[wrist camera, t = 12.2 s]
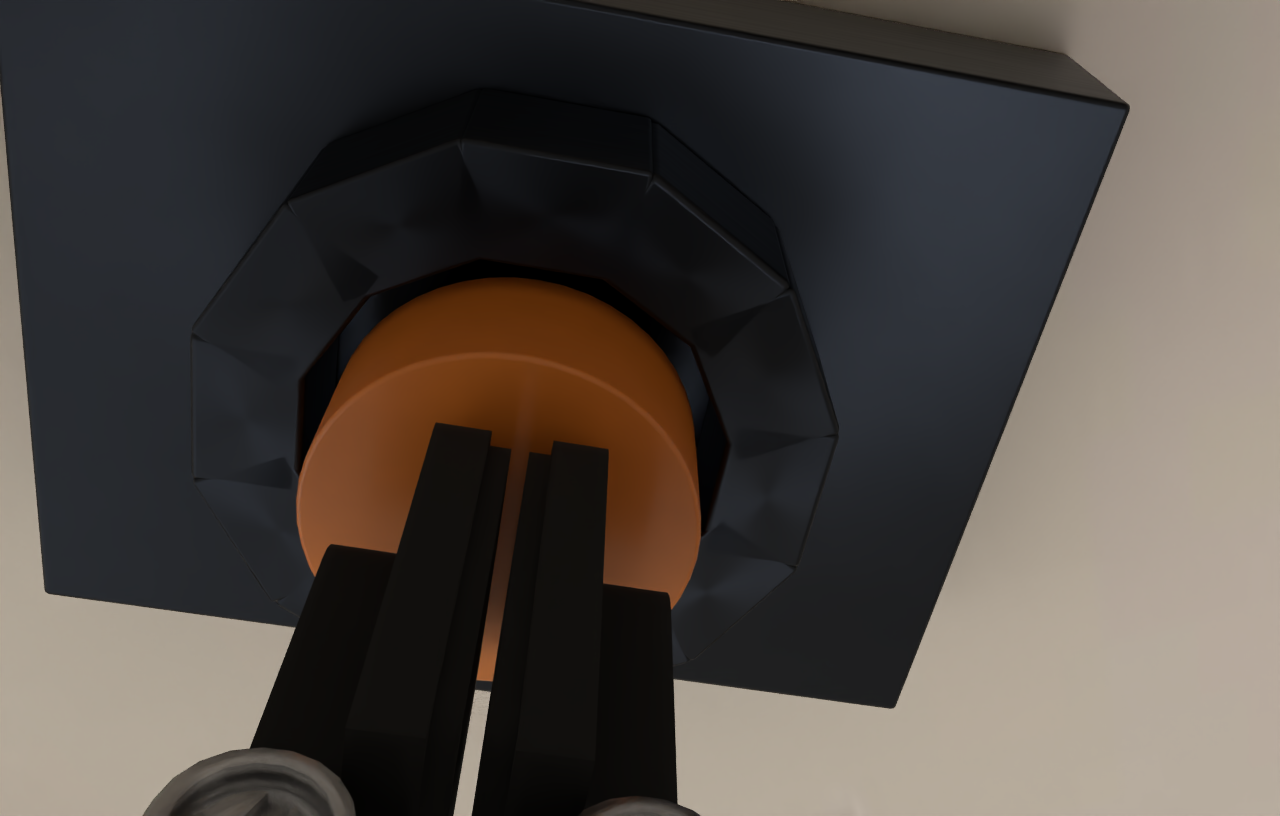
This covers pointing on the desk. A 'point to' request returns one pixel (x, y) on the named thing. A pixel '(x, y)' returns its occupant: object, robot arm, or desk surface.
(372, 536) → the bell button
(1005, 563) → the desk surface
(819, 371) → the black button base
